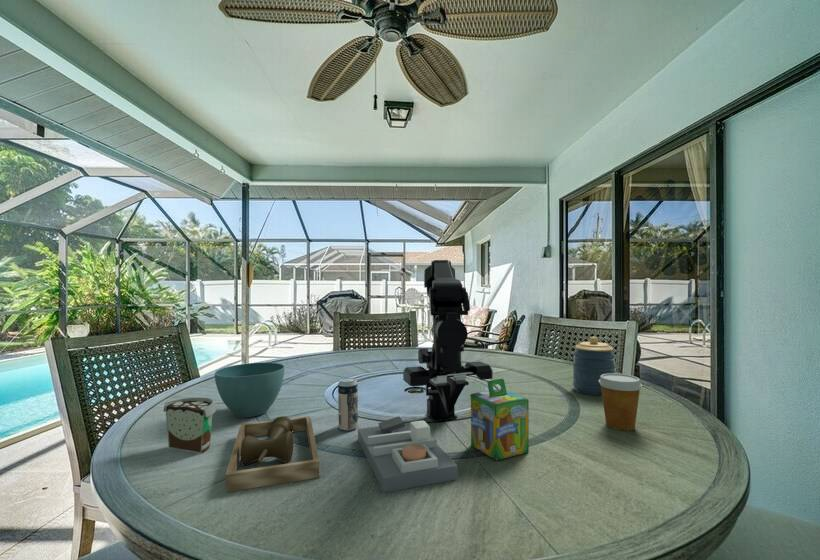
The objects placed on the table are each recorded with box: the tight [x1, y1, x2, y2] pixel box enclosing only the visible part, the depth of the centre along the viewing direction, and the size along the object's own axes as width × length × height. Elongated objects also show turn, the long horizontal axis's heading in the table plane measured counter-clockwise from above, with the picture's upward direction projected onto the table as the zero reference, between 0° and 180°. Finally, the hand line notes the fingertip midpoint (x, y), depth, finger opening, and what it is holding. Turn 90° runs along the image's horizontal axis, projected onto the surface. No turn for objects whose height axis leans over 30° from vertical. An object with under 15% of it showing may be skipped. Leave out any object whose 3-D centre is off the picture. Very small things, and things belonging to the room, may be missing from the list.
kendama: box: [240, 415, 294, 466], centre depth 84 cm, size 6×10×20 cm
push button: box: [402, 444, 426, 462], centre depth 74 cm, size 4×4×2 cm
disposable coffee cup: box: [599, 373, 643, 431], centre depth 98 cm, size 10×10×12 cm
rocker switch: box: [378, 415, 405, 434], centre depth 90 cm, size 5×4×1 cm
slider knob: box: [410, 420, 431, 441], centre depth 83 cm, size 3×4×4 cm
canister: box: [572, 336, 617, 397], centre depth 129 cm, size 13×13×18 cm
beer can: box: [337, 377, 359, 432], centre depth 99 cm, size 5×5×12 cm
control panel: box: [357, 422, 458, 494], centre depth 82 cm, size 14×24×4 cm, turn 18°
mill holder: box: [225, 415, 320, 493], centre depth 84 cm, size 16×26×3 cm, turn 18°
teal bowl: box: [214, 362, 285, 418], centre depth 111 cm, size 18×18×12 cm
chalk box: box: [469, 378, 530, 462], centre depth 86 cm, size 9×9×15 cm
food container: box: [163, 396, 217, 455], centre depth 89 cm, size 12×6×10 cm, turn 71°
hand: (448, 413), depth 85 cm, fingers closed
